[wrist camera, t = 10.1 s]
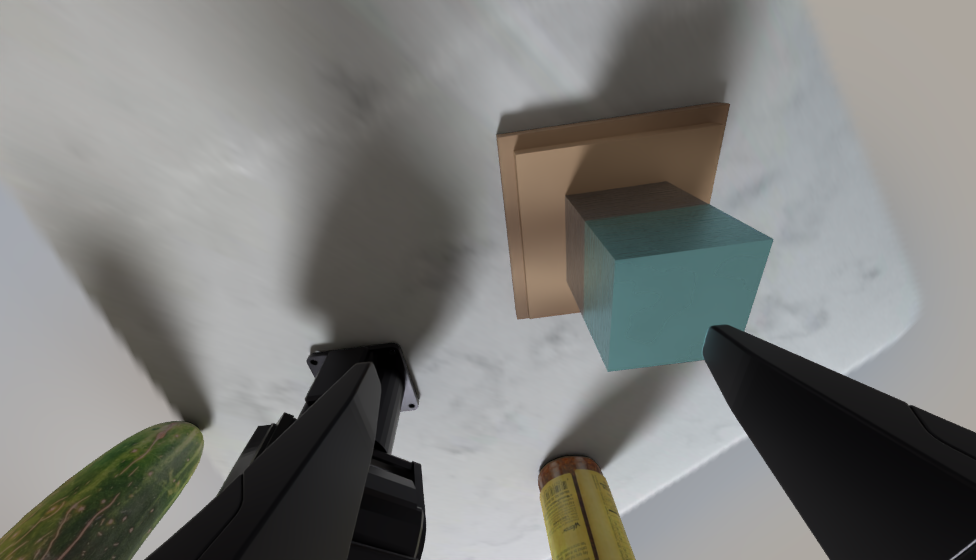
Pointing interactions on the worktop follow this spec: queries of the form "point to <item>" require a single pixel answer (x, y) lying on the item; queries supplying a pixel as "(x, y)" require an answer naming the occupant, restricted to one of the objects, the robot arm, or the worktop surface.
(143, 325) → the worktop surface
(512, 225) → the walnut stand
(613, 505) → the sauce bottle
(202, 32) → the worktop surface
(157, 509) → the vegetable
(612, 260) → the teal and grey block
